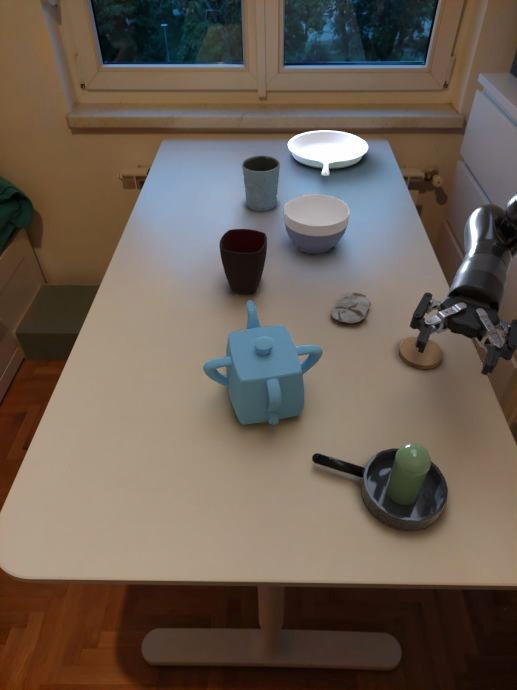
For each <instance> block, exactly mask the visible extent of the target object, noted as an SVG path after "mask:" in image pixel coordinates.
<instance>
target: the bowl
mask: <svg viewBox="0 0 517 690" xmlns="http://www.w3.org/2000/svg"><path fill="white" fill-rule="evenodd" d="M350 216H351V209H350V207H349V205H348V204H347V203H346V202H345V201H343V200H342V199H340V198H337V197H336V196H332V195H328V194H320V193H308V194H302V195H298V196H295V197H292V198H291V199H289V200H288V201H287V202H286V203H285V204H284V207H283V221H284V226H285V231H286V234H287V235H288V237H289V239H290V240H291V242H292V243H293V244H295V245H296V247H297V248H298V249H299V250H300V251H302V252H305V253H308V254H316V255H317V254H323V253H326V252H328V251H330V250H331V249H332V248H333V247H334V246H336V245H337V244H338V243H339V242H340V241H341V239H342V238H343V237H344V235H345V233H346V229H347V228H348V225H349V220H350Z"/></svg>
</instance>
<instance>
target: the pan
mask: <svg viewBox="0 0 517 690" xmlns="http://www.w3.org/2000/svg"><path fill="white" fill-rule="evenodd" d="M287 149H288V150H289V152H291V155H292V157H293V158H294V159H295V160H296V161H297V162H298V163H300V164H302V165H305V166H308V167H312V168H315V169H321V170H322V171H321V176H323V177H328V176H330V173H331V172H330V170H338V169H344V168H348V167H351V166H354V165H356V164H357V163H358V162H360V161H361V160H362V159H363V156H365V154H367V153H368V151H369V145H368V143H367V142H366V140H365V139H363V138H361V137H359V136H357V135H355V134H353V133H350V132H349V133H348V132H345V131H338V130H326V129H325V130H323V129H322V130H321V129H320V130H311V131H306V132H302V133H299V134H296V135H294V136H293V137H292V138H290V139H289V141H288V142H287Z"/></svg>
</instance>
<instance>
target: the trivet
mask: <svg viewBox="0 0 517 690" xmlns="http://www.w3.org/2000/svg"><path fill="white" fill-rule="evenodd" d="M417 338H418V336H411V337H408V338H405V339H404V340H402V342H401V343H400V345H399V349H398V354H399V357H400V358H401V360H402V361H403V362H404V363H405V364H406V365H408V366H410V367H412V368H414V369H418V370H419V369H420V370H429V369H433V368H436V367H437V366H438V365H439V364H441V361H442V359H443V351H442V348H441V347H440V345H439V344H437V343H436V342H435V341H433V340H431V339H430V338H429V339H428V342H427V344H426V347H425V349H424V352H423V353H420V352H418V350H419V348H417V347H416V345H415V344H416V341H417Z"/></svg>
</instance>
